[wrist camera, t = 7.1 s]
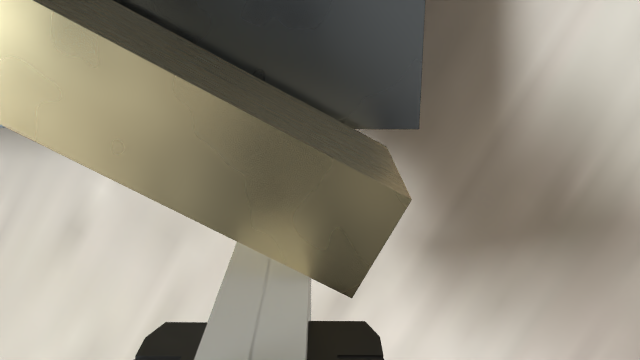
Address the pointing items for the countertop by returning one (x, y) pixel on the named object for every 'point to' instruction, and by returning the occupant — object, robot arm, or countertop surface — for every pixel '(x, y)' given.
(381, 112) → the tribrach plate
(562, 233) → the countertop surface
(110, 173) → the brass lever handle
